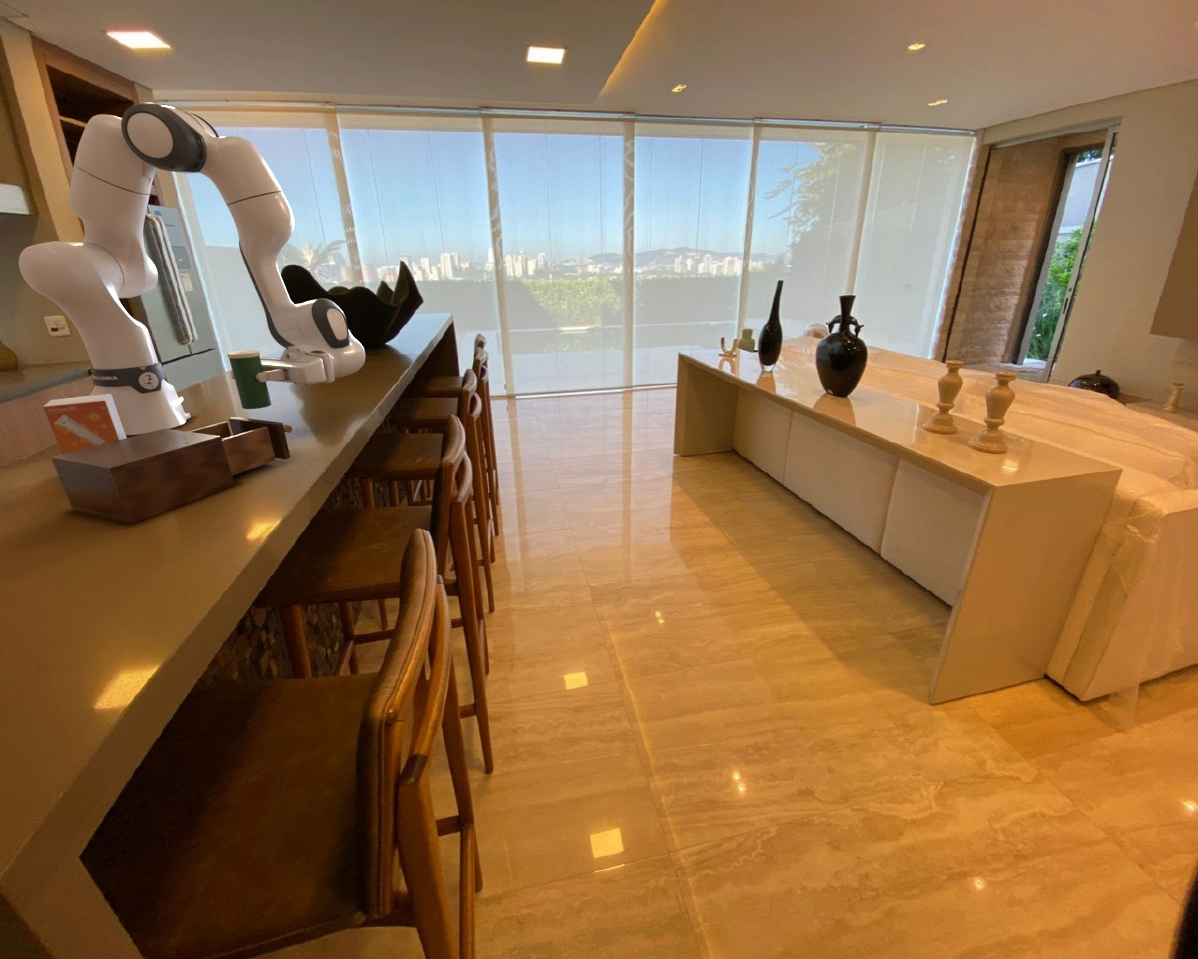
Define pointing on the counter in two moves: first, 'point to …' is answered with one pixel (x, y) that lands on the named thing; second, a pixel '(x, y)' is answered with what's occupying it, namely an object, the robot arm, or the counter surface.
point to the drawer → (250, 442)
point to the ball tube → (249, 379)
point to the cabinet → (144, 474)
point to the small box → (84, 422)
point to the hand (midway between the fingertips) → (245, 376)
